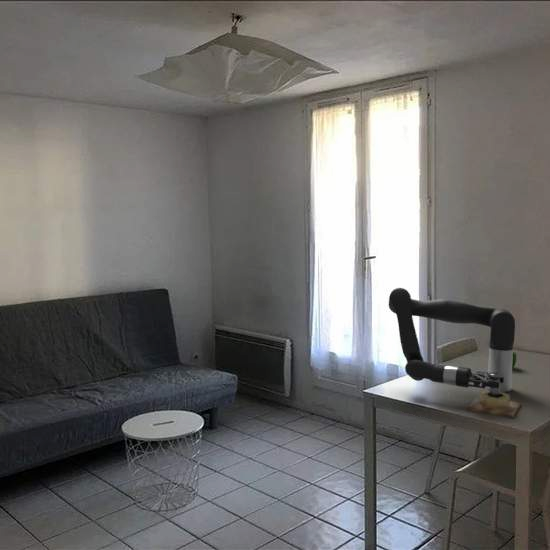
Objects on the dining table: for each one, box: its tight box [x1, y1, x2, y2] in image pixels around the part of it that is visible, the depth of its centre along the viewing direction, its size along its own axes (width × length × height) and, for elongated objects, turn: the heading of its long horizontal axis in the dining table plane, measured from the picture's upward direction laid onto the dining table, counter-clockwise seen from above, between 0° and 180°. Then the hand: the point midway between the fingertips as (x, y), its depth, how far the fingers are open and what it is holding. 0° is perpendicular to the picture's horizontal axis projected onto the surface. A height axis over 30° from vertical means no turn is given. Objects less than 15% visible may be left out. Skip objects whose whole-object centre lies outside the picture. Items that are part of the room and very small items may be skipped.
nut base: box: [467, 390, 522, 419], centre depth 224 cm, size 16×16×5 cm
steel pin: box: [487, 372, 501, 397], centre depth 223 cm, size 5×5×12 cm
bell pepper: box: [512, 351, 517, 370], centre depth 279 cm, size 8×8×10 cm
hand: (501, 382), depth 222 cm, fingers open, 7 cm apart
